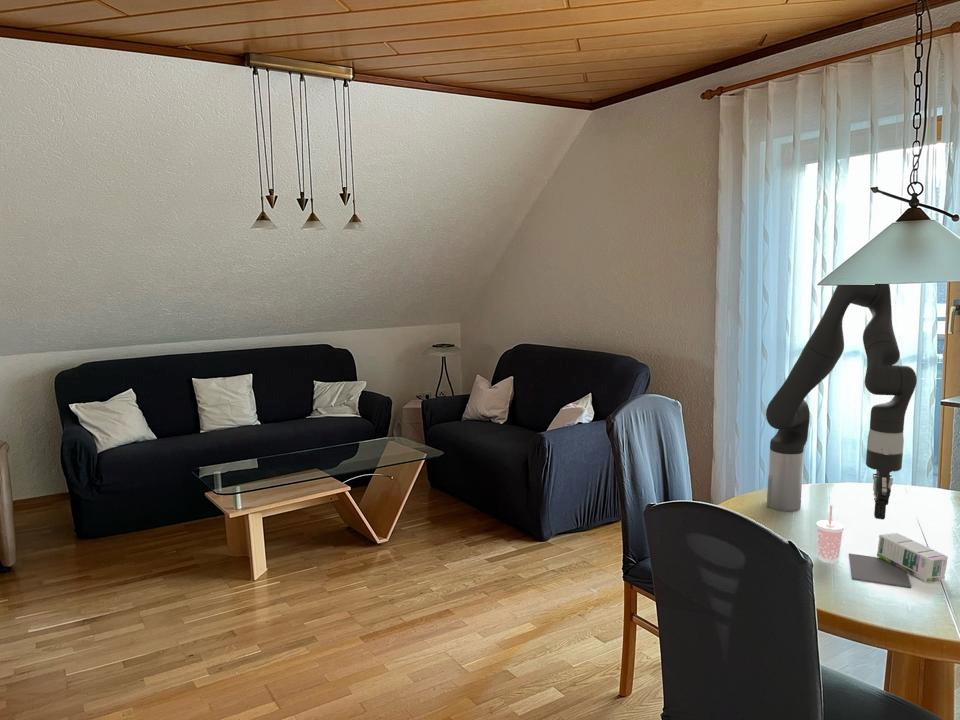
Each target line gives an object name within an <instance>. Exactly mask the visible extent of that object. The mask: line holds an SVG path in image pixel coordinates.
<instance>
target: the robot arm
mask: <svg viewBox="0 0 960 720" xmlns="http://www.w3.org/2000/svg"><path fill="white" fill-rule="evenodd" d="M891 292H892V291H891V286H890V283H889V284H875V285H838V284H837V285H836V287H835V288H834V291H833V293H832V296H831V298H830V301H829V302H828V305H827V307H826V309H825V311H824V313H823V315H822V317H821V319H820V320H819V322H818V324H817V326H816V327H815V329H814V330H813V333H811V335H810V337H809V339H808V341H807V342H806V344H805V345H804V347H803V349H802V351H801V353H800V355H799V357H798V359H796V362H795V363H794V365H793V366H792V369H791V370H790V372H789V373H788V376H787V378H786V379H785V381H784V382H783V384H782V385H781V387H780V388H779V390H777V392H776V393H775V395H774V396H773V397H772V399H771V400H770V401H769V403H768V405H767V407H766V410H765V417H766V423H768V424H769V426H770V427H771V428H773V429H775V430H777V432H776V434H775V435H774V436H773V437H772V438H771V439H770V442H769V459H768V460H769V461H768V462H769V463H768V476H767V494H766V495H767V496H766V508H771V509H774V510H777V511H784V512H795V511H796V512H797V511H799V510H800V509H801V507H802V505H801V504H802V491H803V490H802V489H803V488H802V487H803V472H804V471H803V468H804V466H803V465H804V451H805V445H806V444H807V441H808V437H809V427H810V408H809V405H808V403H807V401H806V400H805V399H806V398H807V396H808V394H809V393H810V392H811V391H812V390H813V389H814V388H815V387H817V385H819V384H820V383H821V382H822V381H823V380H825V378H827V377H828V375H829V374H831V372H832V371H833V369H834V368H835V367H836V364H837V363H838V361H839V360H840V358H841V357H842V354H843V352H844V349H845V337H844V331H843V319H844V317H845V314H846V311H847V310H848V308H849V307H850V304H852V305H855V306H859V307H864V308H867V309H869V311H870V313H871V319H870V320H869V321H868V322H867V324H866V326H865V328H864V330H863V334H862V342H863V348H864V351H865V355H866V370H865V371H866V372H865V374H864V375H865V376H864V387H865V389H866V390H867V391H868V392H869V394H870V393H871V394H872V395H874V396H875V395H876V396H893V397H892V399H891V400H889V401H888V402H884V403H878V404H875V405H873V406H872V407H871V410H870V418H869V419H870V420H869V421H870V422H869V431H868V435H867V443H866V445H867V446H866V454H865V456H866V457H865V465H866V466H867V468H869V469H871V470H875V471H876V472H873V473H872V481H873V485H872V486H873V487H872V491H873V496H874V497H873V501H874V512H873V515H874V518H875V519H876V520H877V519H878V520H885V519H886V512H887V511H886V508H887V506H888V505H889V500H890V497H891V492H892V486H893V480H894V478H893V477H892V474H891V472H895V473H896V472H899V471H901V470H902V466H903V455H904V446H905V445H904V444H905V443H904V439H905V437H904V430H905V429H904V427H905V417H906V413H907V409H908V407H909V403H910V401H911V398H912V397H913V394H914V392H915V389H916V387H917V380H918V379H917V378H918V377H917V374H916V372H915V370H914V369H913V368H912V367H911V366H909V365H896V364H897V363H898V362H899V360H900V358H901V357H900V356H901V352H900V349H899V346H898V342H897V338H896V335H895V332H894V327H893V326H894V325H893V313H892V295H891V294H892V293H891Z"/></svg>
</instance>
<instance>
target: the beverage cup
mask: <svg viewBox="0 0 960 720" xmlns="http://www.w3.org/2000/svg"><path fill="white" fill-rule="evenodd" d="M832 514H833V505H832V504H830V505H829V520H827V519H824V520H818V521H817V522H816V527H817V559H818V560H819V561H820V560H821V562H822V563H823V562H824V563H827V564H837V563H838V562H839V558H840V552H841V543H842V535H843V531H844V528H845V526H844V524H842V523H840V522H838V521H834V520H832V518H833V515H832Z"/></svg>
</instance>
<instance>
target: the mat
mask: <svg viewBox="0 0 960 720" xmlns="http://www.w3.org/2000/svg"><path fill="white" fill-rule="evenodd" d="M848 559H849V566H850V568H849V569H850V574H851V575H850V576H851V579H852V580H854V581H860V582H861V581H862V582H869V583H875V584H881V585H887V586H888V585H889V586H893V587H901V588H902V587H903V588H907V589H912V584H911V582H910V578H909V575H908V572H906V571H904V570H902V569H901V568H899V567H897V566H895V565H893V564H891V563H889V562H887V561H885V560H883V559H881V558H879V557H878V556H871V555H863V554H857V553H856V554H855V553H848Z"/></svg>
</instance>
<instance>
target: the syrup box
mask: <svg viewBox="0 0 960 720" xmlns="http://www.w3.org/2000/svg"><path fill="white" fill-rule="evenodd" d="M878 537H879V538H878V539H879V540H878V544H877V545H878V546H877V552H876V557H879V558H881V559H883V560H885V561H887V562H889V563H891V564H893V565H895V566H897V567H899V568H901V569H902V570H904V571H906V572H907V574H908V573H909V574H910V575H912V576H914V577H917V578H918V579H921V580H922V581H924V582H926V583H929V582H938V580H939V581H943V580H945V579H946V576H945V574H946V570H947V565H948V558H949V557H948V556H947V555H945V554H944V553H941V552H939V551H938V550H935V549H932V548H930V547H928V546H926V545H924V544H922V543H920V542H918V541H916V540H913V539H911V538H909V537H907V536H905V535H903V534H900V533H898V532H893V533H891V532H890V533H885V534H879V536H878ZM942 579H943V580H942Z"/></svg>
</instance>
